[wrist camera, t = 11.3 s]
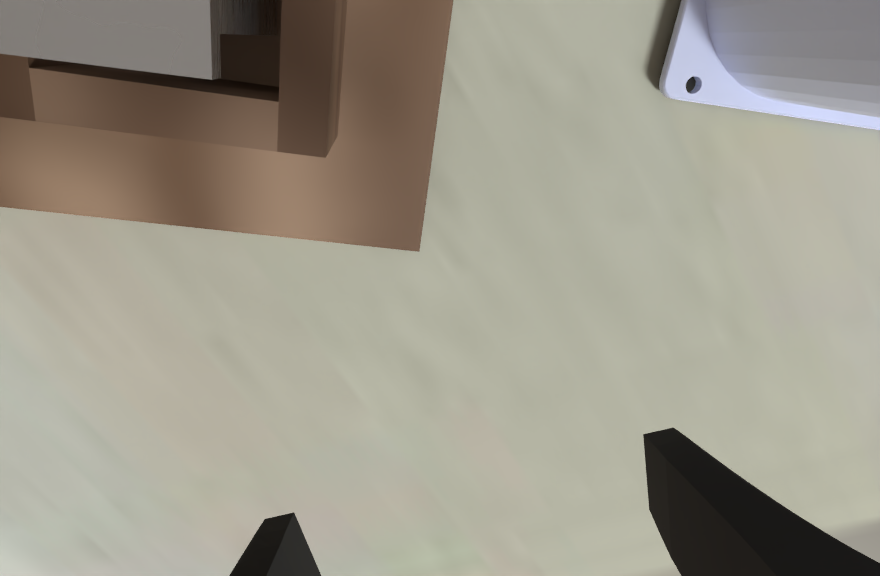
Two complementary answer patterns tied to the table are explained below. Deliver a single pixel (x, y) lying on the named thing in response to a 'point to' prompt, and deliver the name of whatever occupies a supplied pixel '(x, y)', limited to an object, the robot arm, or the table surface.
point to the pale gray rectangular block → (132, 32)
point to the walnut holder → (244, 129)
